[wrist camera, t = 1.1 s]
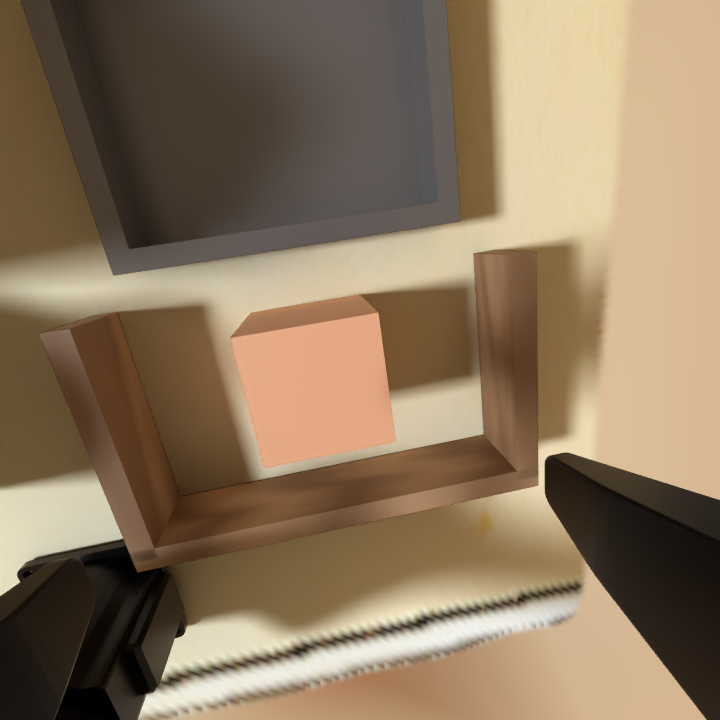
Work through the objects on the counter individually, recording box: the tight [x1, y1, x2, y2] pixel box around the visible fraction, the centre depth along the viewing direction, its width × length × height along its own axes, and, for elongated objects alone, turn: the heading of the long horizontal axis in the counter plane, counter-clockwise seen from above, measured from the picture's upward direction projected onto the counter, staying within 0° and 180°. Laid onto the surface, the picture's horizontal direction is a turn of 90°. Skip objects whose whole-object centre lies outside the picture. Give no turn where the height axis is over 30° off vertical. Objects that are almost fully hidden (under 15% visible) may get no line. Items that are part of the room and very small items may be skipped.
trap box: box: [21, 0, 460, 276], centre depth 14 cm, size 13×11×2 cm
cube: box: [230, 295, 396, 468], centre depth 16 cm, size 5×5×5 cm
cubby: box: [39, 250, 538, 572], centre depth 17 cm, size 18×10×4 cm, turn 98°
